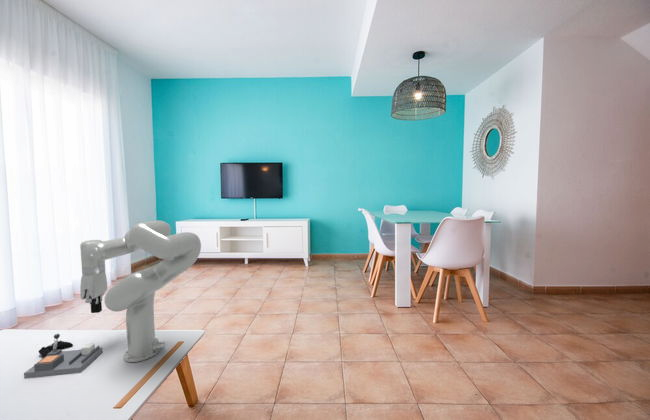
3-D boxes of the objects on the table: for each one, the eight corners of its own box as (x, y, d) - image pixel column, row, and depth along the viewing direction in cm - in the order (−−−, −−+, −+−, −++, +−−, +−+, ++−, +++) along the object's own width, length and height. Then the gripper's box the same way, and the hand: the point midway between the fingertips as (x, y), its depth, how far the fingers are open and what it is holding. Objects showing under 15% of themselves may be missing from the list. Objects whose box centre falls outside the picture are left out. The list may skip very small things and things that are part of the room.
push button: (59, 359, 105) (59, 355, 105) (51, 366, 101) (50, 361, 101) (47, 360, 105) (47, 356, 105) (38, 367, 101) (38, 362, 101)
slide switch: (95, 350, 113) (94, 343, 112) (90, 354, 110) (89, 347, 110) (86, 351, 112) (86, 344, 112) (81, 355, 109) (81, 348, 109)
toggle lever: (58, 349, 111) (61, 333, 113) (55, 350, 110) (58, 333, 111) (53, 350, 111) (56, 333, 113) (49, 351, 109) (52, 334, 111)
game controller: (49, 357, 111) (37, 346, 111) (44, 366, 111) (32, 355, 112) (74, 343, 120) (63, 334, 121) (70, 352, 121) (59, 342, 122)
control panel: (102, 352, 115) (101, 341, 115) (80, 372, 102) (79, 360, 102) (53, 356, 112) (52, 346, 112) (24, 378, 99) (23, 366, 99)
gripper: (95, 265, 122) (98, 305, 124) (70, 275, 107) (73, 321, 109) (114, 264, 123) (116, 304, 125) (92, 274, 109) (95, 319, 110)
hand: (96, 311), depth 117 cm, fingers closed
